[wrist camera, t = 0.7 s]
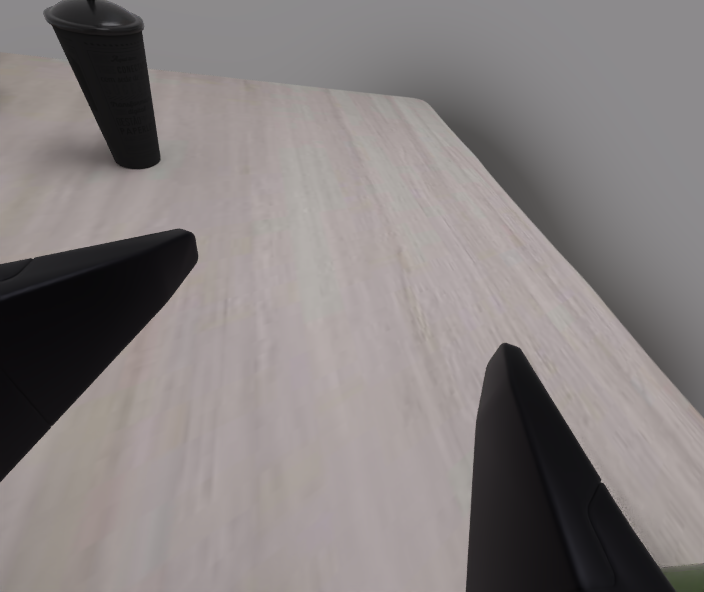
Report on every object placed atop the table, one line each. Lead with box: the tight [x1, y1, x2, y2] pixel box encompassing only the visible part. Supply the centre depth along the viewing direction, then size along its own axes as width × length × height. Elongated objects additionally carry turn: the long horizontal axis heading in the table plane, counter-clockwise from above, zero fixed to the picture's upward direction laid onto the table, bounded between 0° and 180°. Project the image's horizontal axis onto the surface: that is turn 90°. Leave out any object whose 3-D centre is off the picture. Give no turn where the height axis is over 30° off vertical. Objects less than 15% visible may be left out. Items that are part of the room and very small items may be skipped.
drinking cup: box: [43, 0, 160, 169], centre depth 34 cm, size 8×8×20 cm
